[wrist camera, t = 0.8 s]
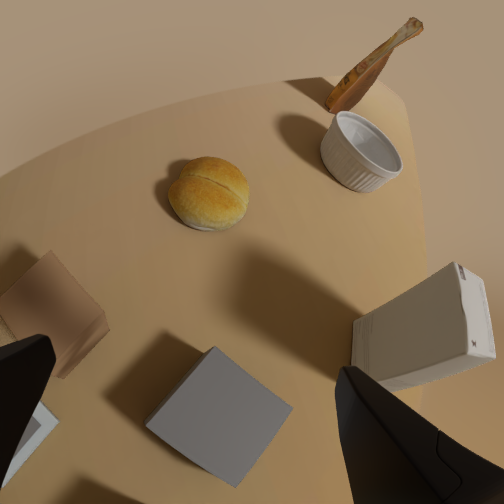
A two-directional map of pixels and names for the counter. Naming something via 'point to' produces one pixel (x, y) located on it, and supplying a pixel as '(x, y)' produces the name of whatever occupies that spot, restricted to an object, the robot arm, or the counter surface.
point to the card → (32, 437)
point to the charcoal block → (219, 417)
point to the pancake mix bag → (368, 70)
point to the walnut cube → (54, 312)
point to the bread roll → (210, 194)
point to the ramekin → (359, 153)
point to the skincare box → (426, 331)
